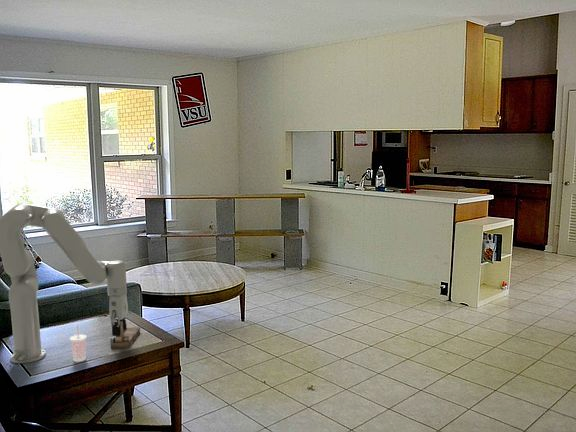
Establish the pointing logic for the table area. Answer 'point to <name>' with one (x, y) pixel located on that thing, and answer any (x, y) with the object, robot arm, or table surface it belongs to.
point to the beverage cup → (78, 346)
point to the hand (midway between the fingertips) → (119, 332)
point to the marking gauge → (121, 337)
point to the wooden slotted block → (125, 343)
